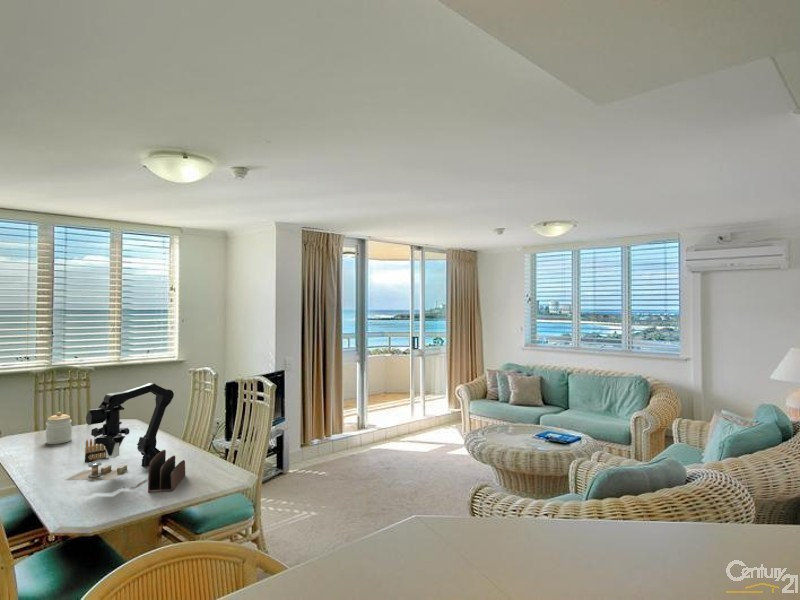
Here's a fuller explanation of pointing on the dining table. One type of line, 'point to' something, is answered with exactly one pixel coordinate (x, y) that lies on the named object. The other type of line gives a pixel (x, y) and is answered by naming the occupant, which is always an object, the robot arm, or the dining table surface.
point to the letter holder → (164, 473)
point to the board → (84, 476)
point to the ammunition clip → (94, 452)
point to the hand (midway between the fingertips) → (112, 454)
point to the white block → (114, 451)
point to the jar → (58, 429)
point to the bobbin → (94, 469)
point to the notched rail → (108, 468)
